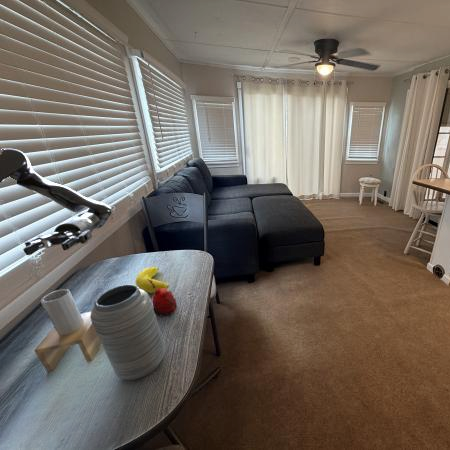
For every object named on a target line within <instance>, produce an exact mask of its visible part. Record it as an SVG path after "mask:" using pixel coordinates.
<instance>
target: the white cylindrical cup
mask: <svg viewBox="0 0 450 450" xmlns="http://www.w3.org/2000/svg"><path fill="white" fill-rule="evenodd" d="M40 303H41V305H42V307H43V309H44V311H45V312H46V315H47V316H48V318H49V320H50V322H51V324H52V326H53V327H55V329H56V331H57V333H58V334H59V335H67V334H70V333H73V332H75V331H76V330H78V329H79V328H81V327H82V326H83V324H84V321H83V318H82V316H81V314H82V313H81V312H80V310H79V307H78V305H77V304H76V301H75V300H74V297H73V294H72V293H71V290H70V289H68V288H63V289H58V290H54V291H52V292H50V293H47V294H46V295H44V296H43V297H42V298H41V299H40Z"/></svg>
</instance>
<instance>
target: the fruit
mask: <svg viewBox="0 0 450 450" xmlns="http://www.w3.org/2000/svg"><path fill="white" fill-rule="evenodd" d="M158 272H159V267H156V266H149V267H146V268H144V269H143V270H141V271H140V272H139V273H138V274H137V276H136V278H135V285H136V286H138V288H139V289H142V290H144V291H145V292H147V293H148V294H149V293H151V294H154V293H155V292H156V290H155V289H154V288H153V286H152V284H151V282H150V281H148V279H149V280H152V282H153V284H155V288H156V289H158V288H161V289H162V288H165V289H167V290H168V289H169V284H168V283H166V282H164V281H161V280H157V279H154V278H153V277H155V276H156V274H158ZM152 278H153V279H152ZM149 282H150V283H149ZM148 283H149V284H148Z"/></svg>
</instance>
